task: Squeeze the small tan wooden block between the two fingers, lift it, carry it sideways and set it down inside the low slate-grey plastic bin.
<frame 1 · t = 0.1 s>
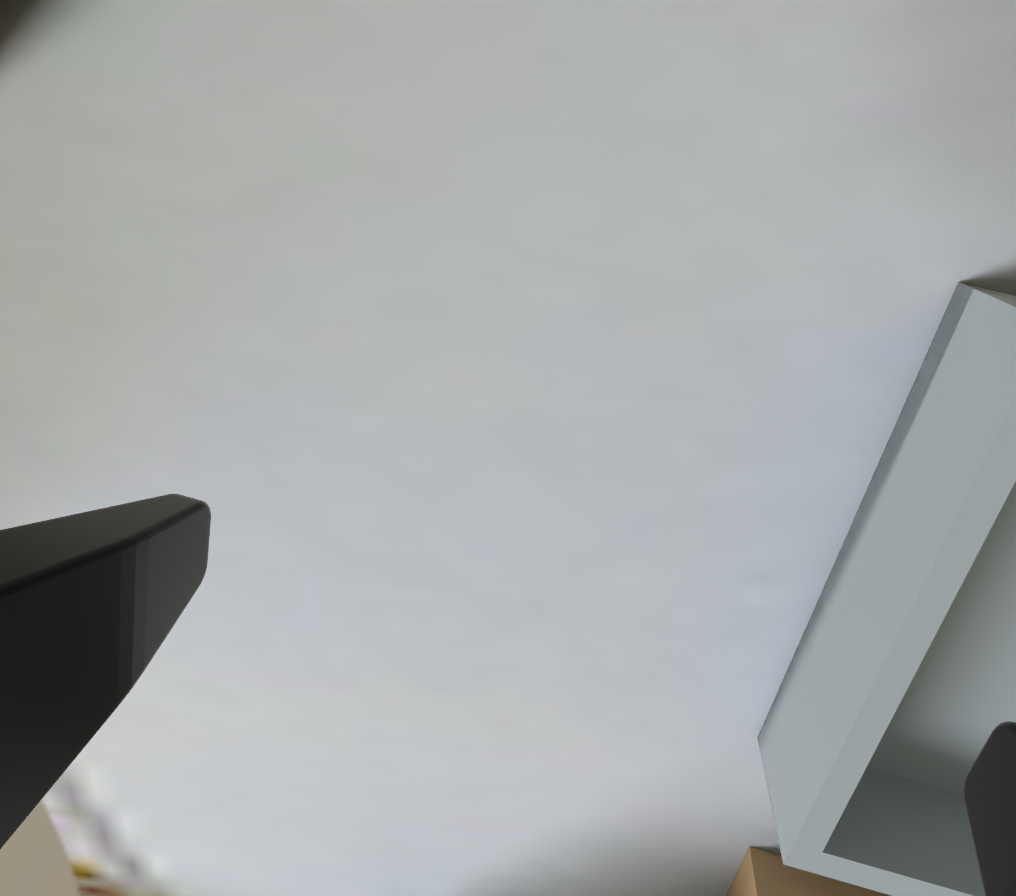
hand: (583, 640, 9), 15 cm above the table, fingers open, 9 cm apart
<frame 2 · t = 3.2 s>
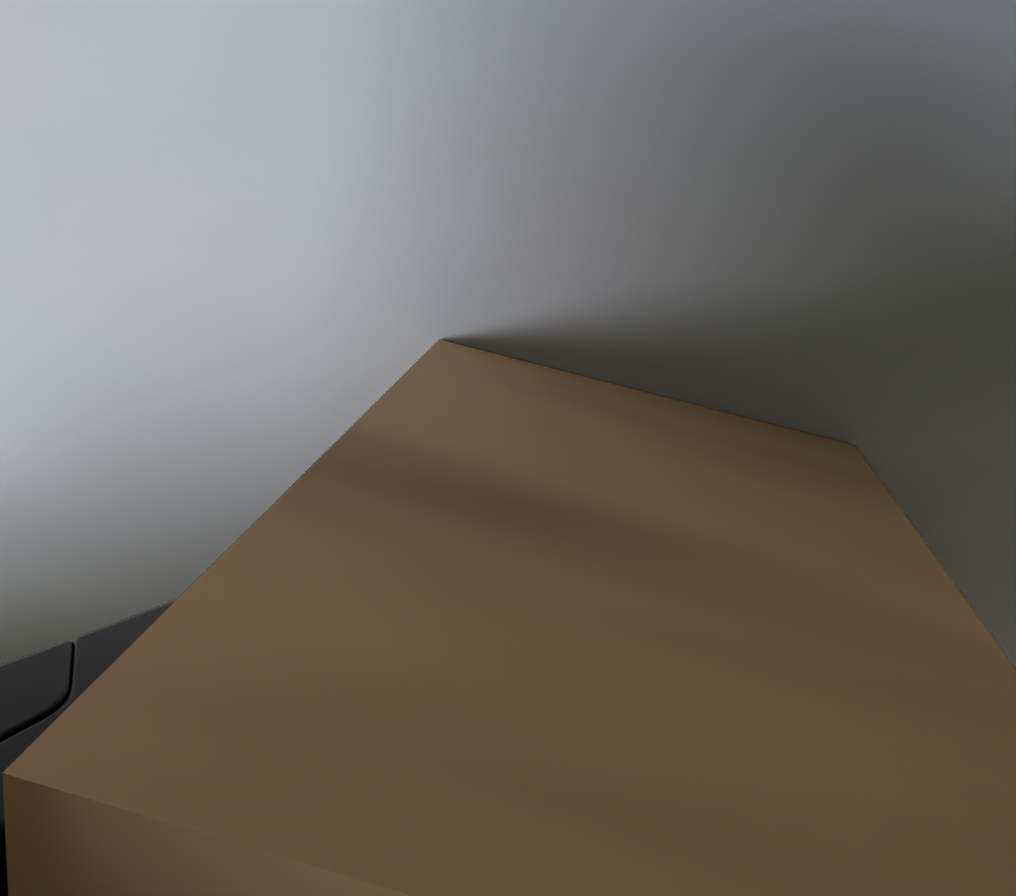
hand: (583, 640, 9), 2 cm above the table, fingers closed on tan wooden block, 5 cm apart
tan wooden block: (590, 570, 10), on the table, touching gripper
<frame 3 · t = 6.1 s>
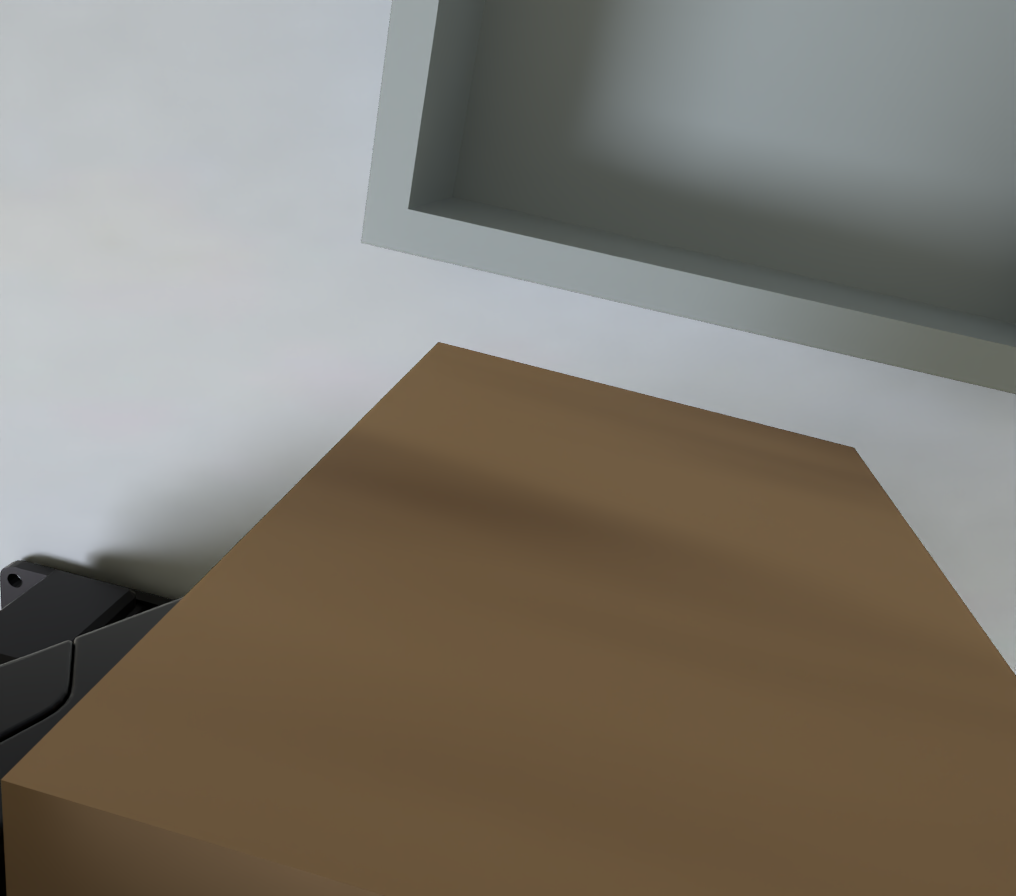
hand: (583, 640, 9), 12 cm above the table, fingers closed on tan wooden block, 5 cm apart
tan wooden block: (589, 572, 10), point 11 cm above the table, touching gripper
when the fingers open (4 cm above the table, at t = 9.2 s): tan wooden block drops 1 cm, resting on bin.
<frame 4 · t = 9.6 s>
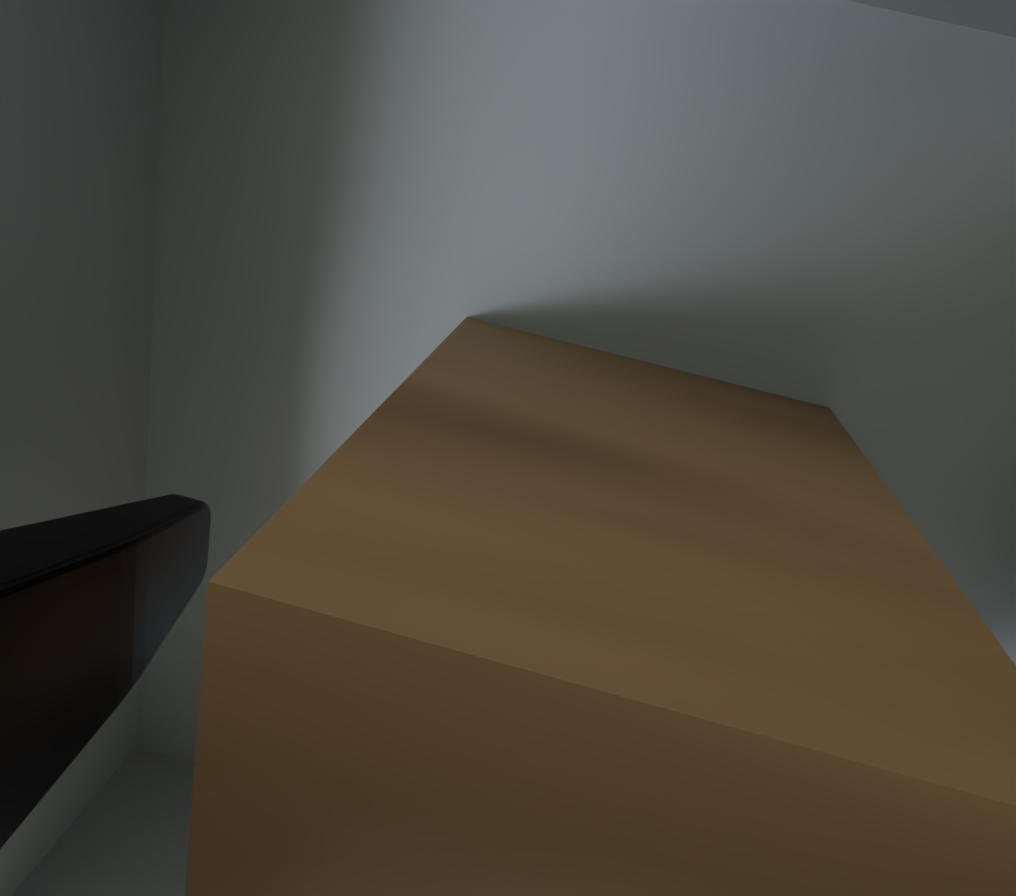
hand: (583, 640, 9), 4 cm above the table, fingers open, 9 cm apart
bin: (600, 491, 12), on the table
tan wooden block: (598, 522, 12), point 1 cm above the table, touching bin
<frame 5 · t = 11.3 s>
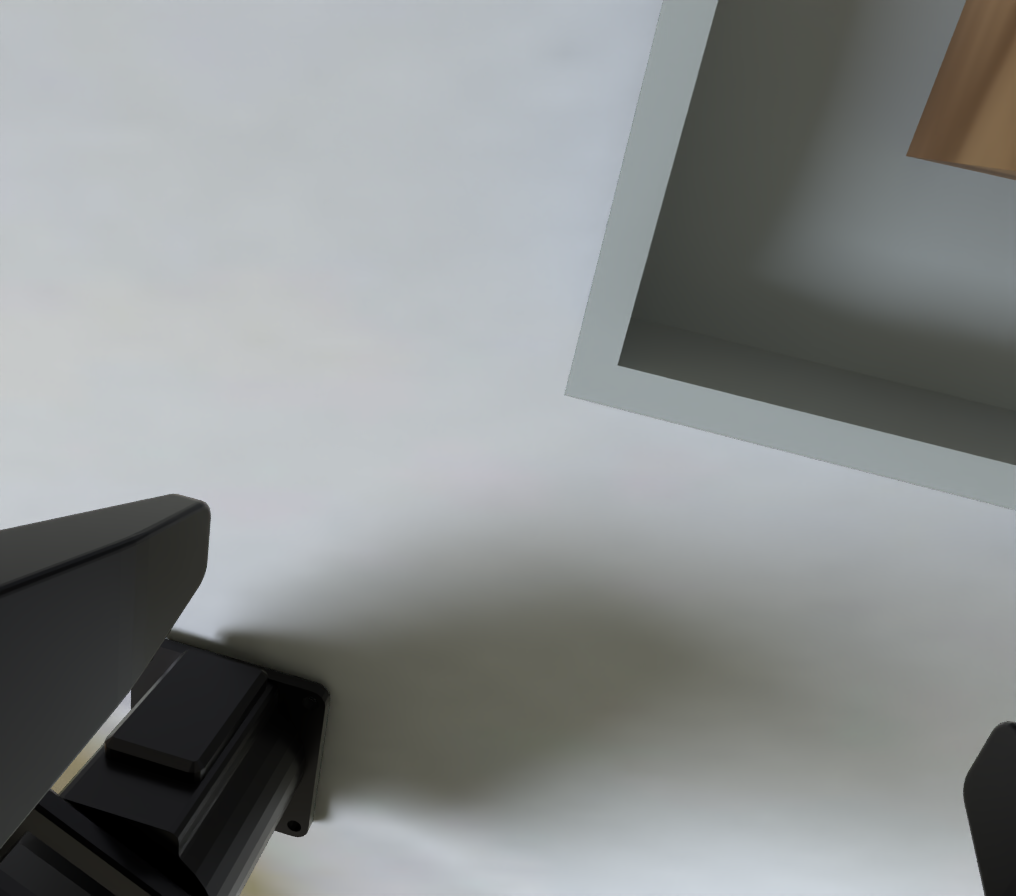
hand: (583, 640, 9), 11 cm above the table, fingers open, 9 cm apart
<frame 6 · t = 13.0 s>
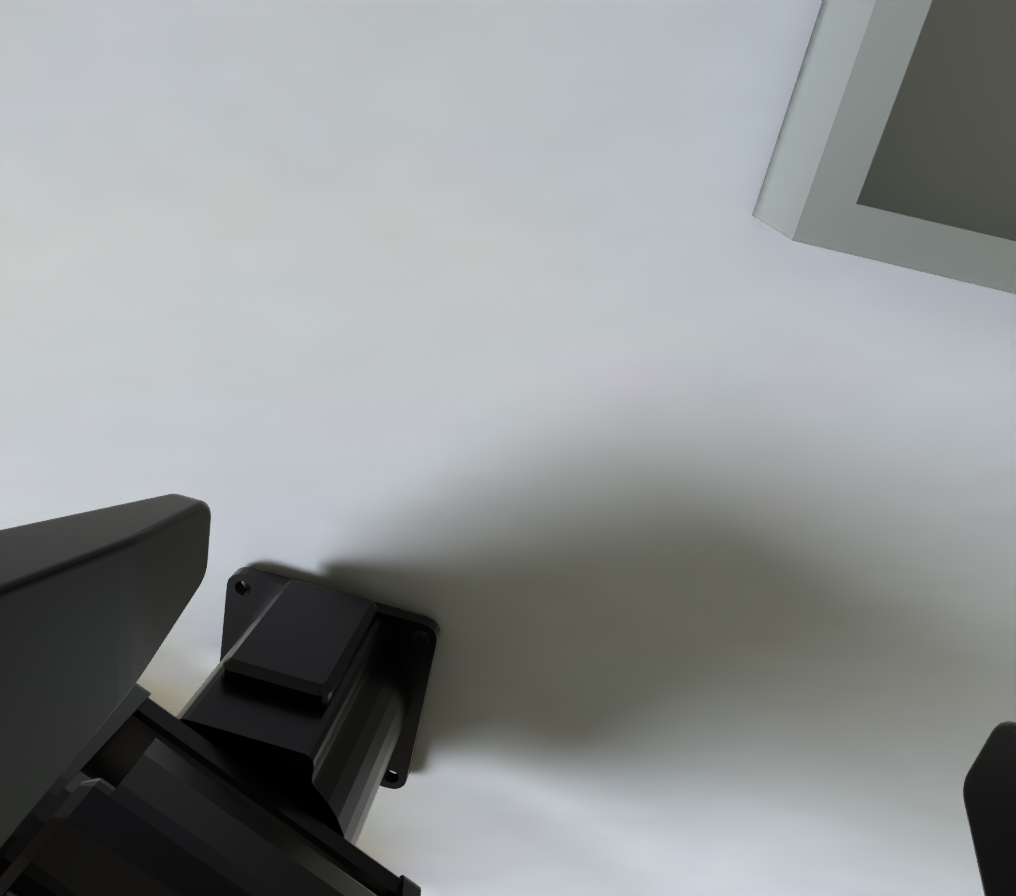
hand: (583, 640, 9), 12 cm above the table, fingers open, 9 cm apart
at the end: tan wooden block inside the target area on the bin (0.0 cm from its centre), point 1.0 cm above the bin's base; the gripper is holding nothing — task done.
